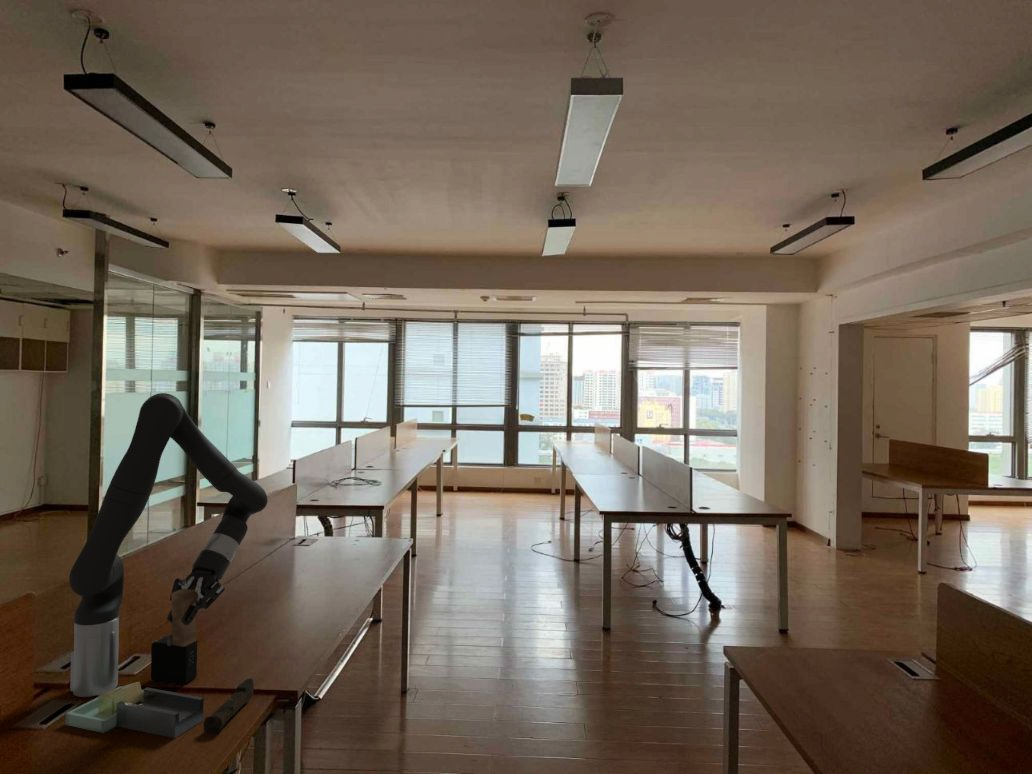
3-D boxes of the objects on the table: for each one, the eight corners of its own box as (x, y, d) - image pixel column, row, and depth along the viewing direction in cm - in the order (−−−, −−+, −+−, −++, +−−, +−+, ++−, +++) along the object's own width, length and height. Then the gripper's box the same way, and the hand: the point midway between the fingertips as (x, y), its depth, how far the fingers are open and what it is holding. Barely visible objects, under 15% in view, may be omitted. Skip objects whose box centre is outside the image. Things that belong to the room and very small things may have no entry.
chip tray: (65, 724, 142) (65, 713, 142) (120, 696, 156) (120, 685, 156) (103, 733, 139) (104, 721, 139) (157, 703, 152) (157, 692, 152)
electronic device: (185, 685, 162) (186, 645, 162) (150, 681, 164) (151, 642, 164) (196, 678, 166) (197, 639, 166) (162, 674, 168) (163, 636, 168)
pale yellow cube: (115, 710, 145) (111, 692, 145) (130, 702, 148) (126, 685, 149) (128, 706, 144) (124, 689, 144) (143, 698, 147) (139, 681, 148)
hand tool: (220, 735, 139) (220, 714, 139) (202, 734, 139) (203, 712, 139) (263, 695, 158) (263, 676, 158) (247, 694, 158) (248, 675, 158)
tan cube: (112, 716, 145) (98, 713, 146) (127, 708, 149) (113, 705, 150) (112, 698, 145) (98, 695, 146) (127, 690, 149) (114, 688, 150)
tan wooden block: (167, 645, 149) (166, 593, 149) (183, 637, 154) (182, 587, 154) (181, 647, 148) (181, 595, 148) (198, 639, 153) (197, 589, 153)
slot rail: (116, 726, 142) (116, 703, 142) (146, 709, 150) (147, 687, 150) (174, 738, 137) (175, 714, 137) (203, 720, 145) (203, 697, 145)
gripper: (185, 546, 160) (143, 612, 149) (231, 550, 156) (193, 618, 144) (201, 562, 165) (162, 626, 154) (247, 566, 161) (211, 633, 149)
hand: (177, 622), depth 149 cm, fingers closed on tan wooden block, 3 cm apart
